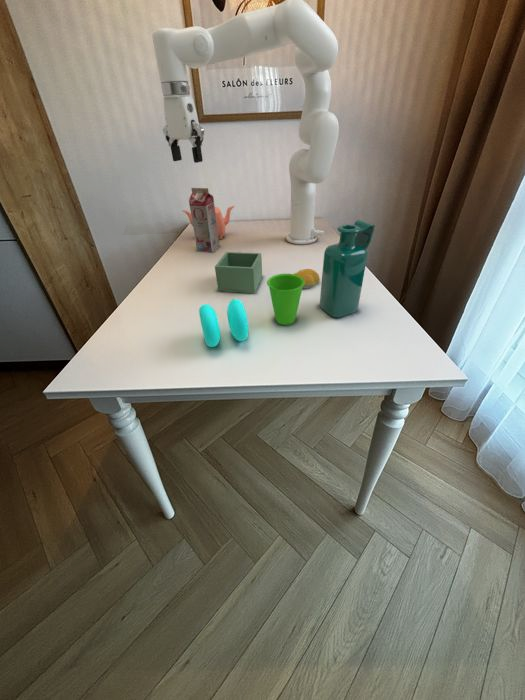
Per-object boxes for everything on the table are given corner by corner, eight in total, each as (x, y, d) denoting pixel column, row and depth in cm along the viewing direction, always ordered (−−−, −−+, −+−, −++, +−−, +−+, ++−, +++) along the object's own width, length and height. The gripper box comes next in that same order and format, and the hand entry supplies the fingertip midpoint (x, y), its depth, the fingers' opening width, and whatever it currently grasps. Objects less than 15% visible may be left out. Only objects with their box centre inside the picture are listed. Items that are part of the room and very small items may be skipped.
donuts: (251, 348, 72) (248, 311, 66) (208, 356, 70) (201, 320, 64) (241, 325, 80) (237, 290, 74) (202, 332, 78) (196, 297, 72)
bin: (262, 276, 102) (261, 253, 97) (254, 293, 93) (253, 268, 88) (228, 275, 104) (226, 251, 99) (218, 291, 96) (214, 266, 91)
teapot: (186, 239, 135) (181, 208, 127) (212, 228, 145) (208, 199, 137) (212, 245, 127) (207, 212, 120) (237, 233, 138) (234, 203, 130)
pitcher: (335, 320, 80) (346, 234, 67) (316, 306, 86) (323, 224, 73) (364, 310, 84) (380, 226, 70) (344, 297, 90) (355, 217, 76)
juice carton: (212, 252, 121) (203, 190, 108) (197, 250, 123) (186, 189, 110) (219, 246, 126) (212, 186, 113) (204, 244, 128) (195, 185, 114)
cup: (306, 313, 83) (308, 275, 77) (298, 332, 77) (299, 292, 70) (274, 308, 86) (273, 271, 79) (263, 326, 79) (261, 287, 72)
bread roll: (323, 281, 98) (324, 269, 96) (306, 291, 93) (307, 279, 91) (302, 274, 103) (303, 262, 100) (285, 283, 98) (285, 271, 95)
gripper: (207, 89, 86) (215, 160, 96) (166, 92, 94) (178, 158, 105) (186, 89, 81) (198, 164, 92) (146, 93, 90) (161, 161, 100)
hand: (187, 161), depth 98 cm, fingers open, 9 cm apart
